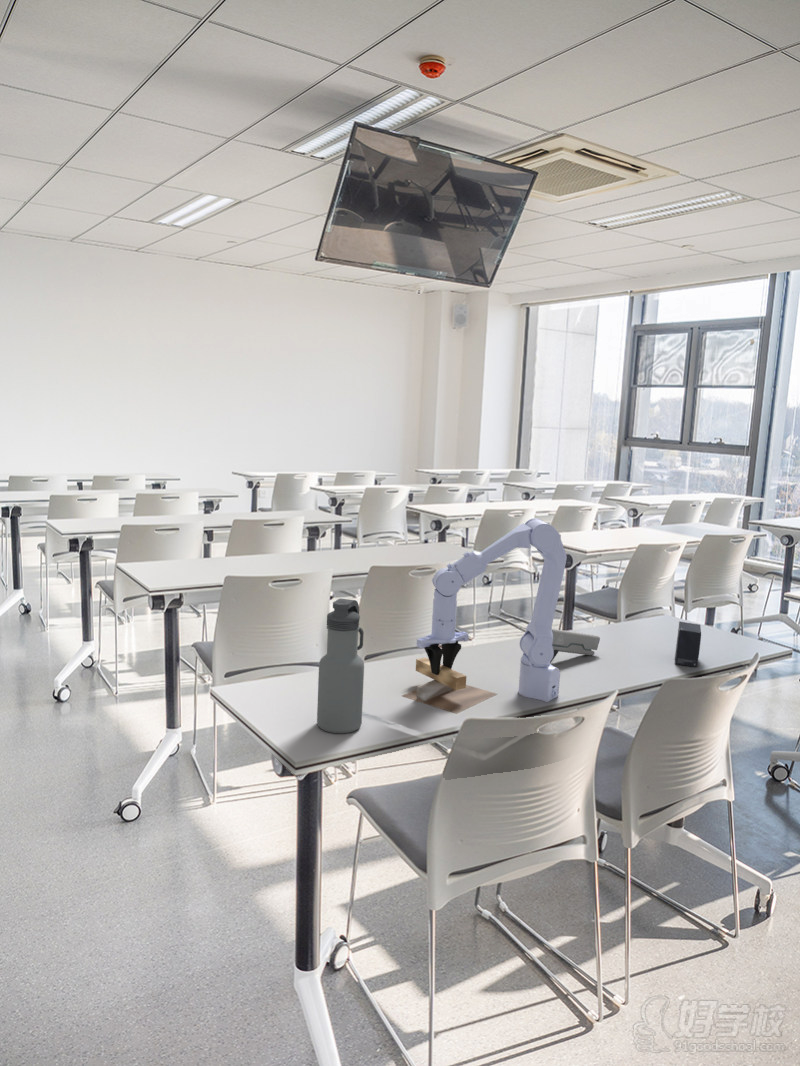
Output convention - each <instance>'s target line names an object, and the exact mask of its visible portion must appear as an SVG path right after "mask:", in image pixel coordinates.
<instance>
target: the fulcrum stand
mask: <svg viewBox="0 0 800 1066" xmlns="http://www.w3.org/2000/svg"><path fill="white" fill-rule="evenodd" d="M460 673H461V672H460ZM461 674H463V673H461ZM497 695H498V693H495V692H492V691H489V690H485V689H481V688H480V687H479V688H478V687H475V686H472V685H469V684H466V688H464V689H459V690H455V689H452V688H450V687H448V686H446V685H444V684H442V683H440V682H438V681H436V680H434V679H431V680H430V681H428V682H426V683H422V684H420V685H418V686H417V687H416V689H414V690H412V691H409V692H406V693H404V694H403V695H401V697H403V698H407V699H409V700H412V701H416V702H418V703H419V702H420V703H423V704H425V705H428V706H432V707H435V708H437V709H442V710H444V711H447V712H450V713H454V714H459V713H461V712H463V711H465V710H467V709H469V708H471V707H474V706H476V705H478V704H480V703H482V702H485V701H486V700H488V699H490V698H492V697H494V696H497Z"/></svg>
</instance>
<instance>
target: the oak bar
mask: <svg viewBox="0 0 800 1066" xmlns="http://www.w3.org/2000/svg"><path fill="white" fill-rule="evenodd" d="M415 672H417V673H420V674H421V675H424V676H426V677H429V678H430V679H431V680H436V681H438V682H440V683H442V684H444V685H446V686H448V687H450V688H452V689H455V690H459V689H464V688H466V685H467V675H465V674H463V673H462V674H461V672H460V671H459V672H458V671H456V670H454V669H452V668H451V669H450V668H448V667H445V666H443V664H441V663H440V672H439V675H435V674H433V673H432V671H431V666H430V661H429V658H427V657H421V658H416V659H415Z"/></svg>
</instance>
